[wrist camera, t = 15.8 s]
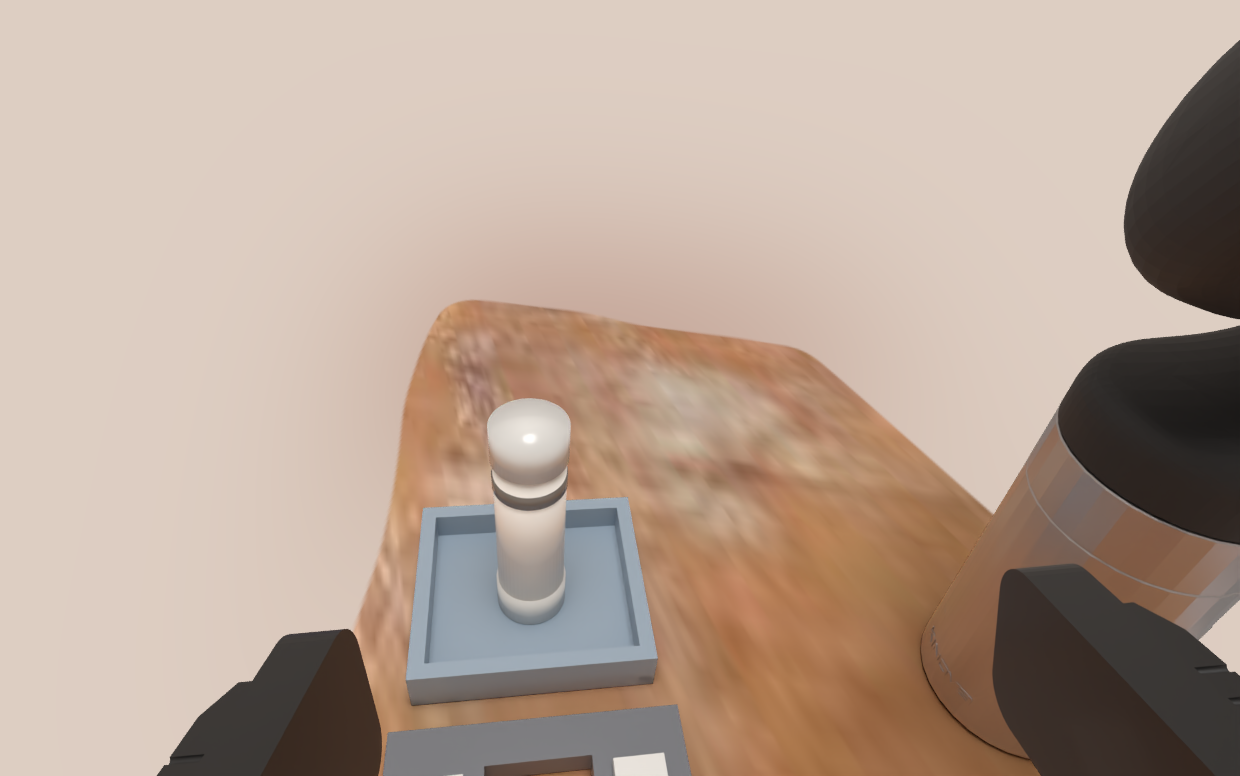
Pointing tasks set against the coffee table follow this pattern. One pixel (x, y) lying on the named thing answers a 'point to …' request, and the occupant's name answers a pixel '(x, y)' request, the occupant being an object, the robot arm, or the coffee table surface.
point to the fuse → (530, 506)
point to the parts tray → (519, 653)
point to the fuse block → (547, 746)
